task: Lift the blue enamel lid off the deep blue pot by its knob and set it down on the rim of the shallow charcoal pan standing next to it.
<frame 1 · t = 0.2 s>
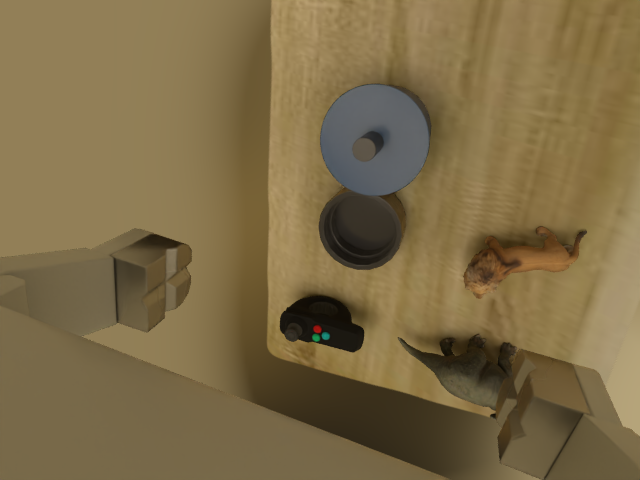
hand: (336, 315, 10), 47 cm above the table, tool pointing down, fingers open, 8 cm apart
controller: (334, 305, 67), on the table
lion figurine: (517, 248, 55), on the table
pan: (366, 219, 60), on the table
toy dinosaur: (476, 350, 63), on the table
lid: (373, 141, 47), point 9 cm above the table, touching pot
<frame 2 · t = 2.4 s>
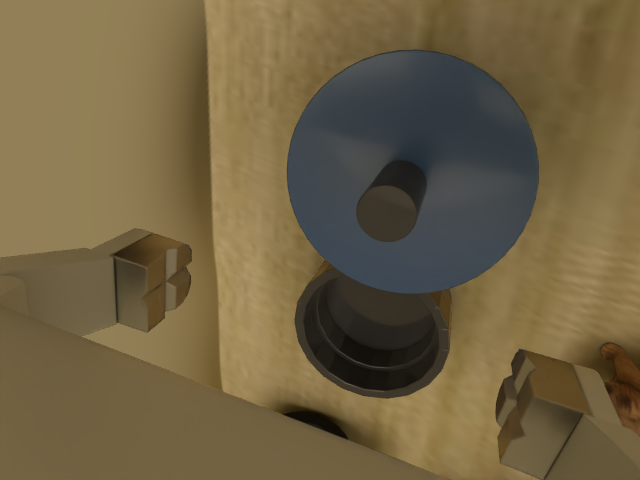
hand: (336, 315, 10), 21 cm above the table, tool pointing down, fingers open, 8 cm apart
controller: (326, 424, 42), on the table
pan: (380, 300, 34), on the table
lid: (403, 181, 21), point 9 cm above the table, touching pot
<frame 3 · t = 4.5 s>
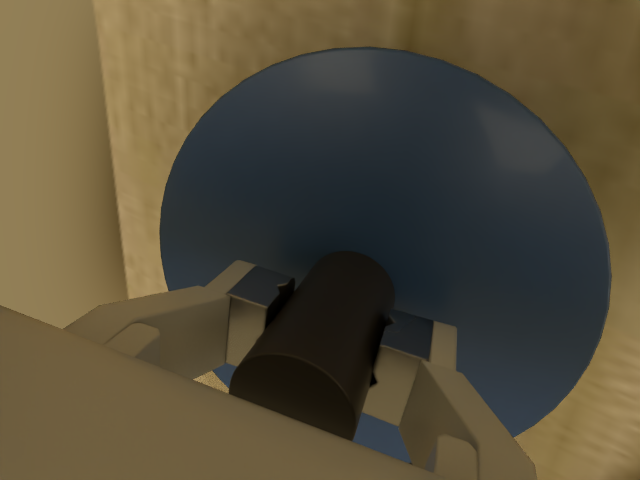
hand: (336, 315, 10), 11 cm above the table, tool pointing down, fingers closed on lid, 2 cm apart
lid: (355, 281, 12), point 9 cm above the table, touching gripper, pot
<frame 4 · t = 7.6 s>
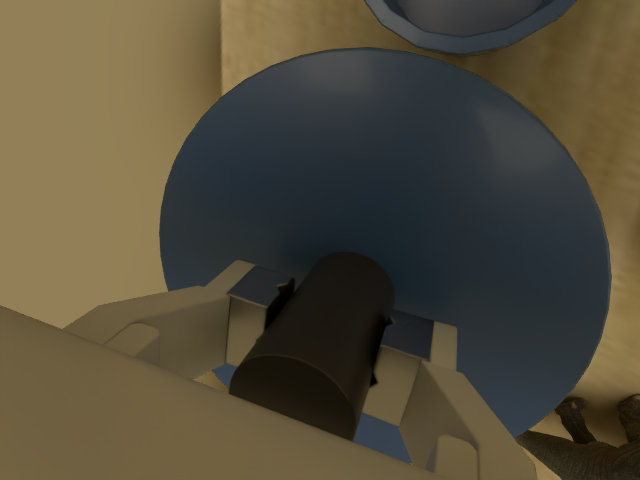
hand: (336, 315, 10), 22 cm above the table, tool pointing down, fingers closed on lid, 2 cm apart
toy dinosaur: (628, 422, 32), on the table
lid: (355, 282, 12), point 20 cm above the table, touching gripper
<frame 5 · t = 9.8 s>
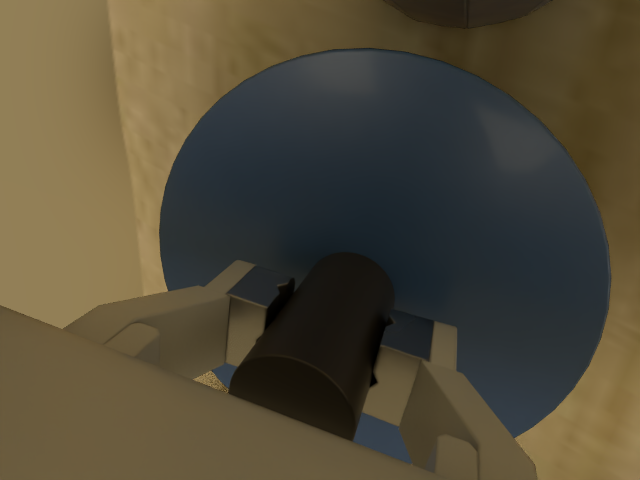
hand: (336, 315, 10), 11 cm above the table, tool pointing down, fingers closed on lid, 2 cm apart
lid: (355, 282, 12), point 9 cm above the table, touching gripper
when the fingers open (7 cm above the table, at t = 11.0 s): lid stays where it is, resting on pan.
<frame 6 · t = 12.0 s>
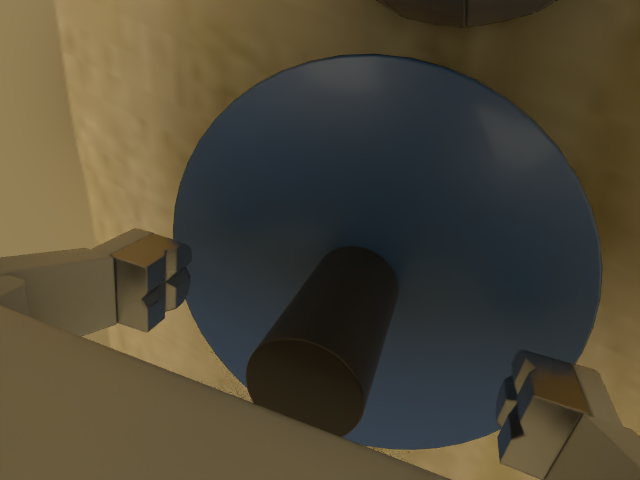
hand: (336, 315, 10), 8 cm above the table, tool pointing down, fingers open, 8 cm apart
lid: (360, 275, 13), point 5 cm above the table, touching pan
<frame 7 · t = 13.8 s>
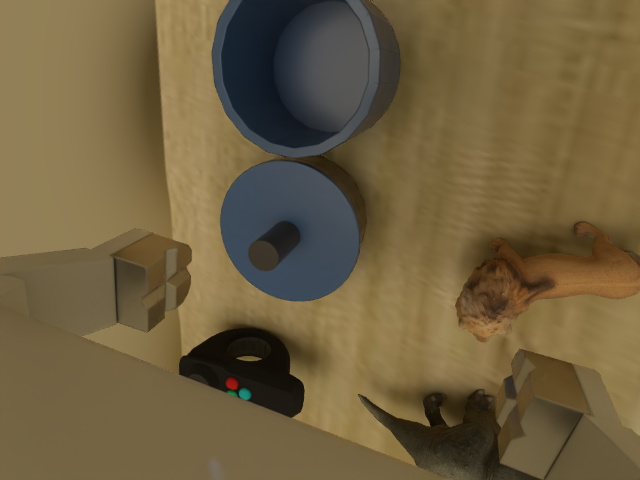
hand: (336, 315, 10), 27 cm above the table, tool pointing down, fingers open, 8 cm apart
controller: (270, 341, 46), on the table
pot: (331, 69, 34), on the table
lion figurine: (542, 257, 35), on the table
pan: (308, 213, 39), on the table
toy dinosaur: (478, 412, 41), on the table
lid: (289, 232, 35), point 5 cm above the table, touching pan
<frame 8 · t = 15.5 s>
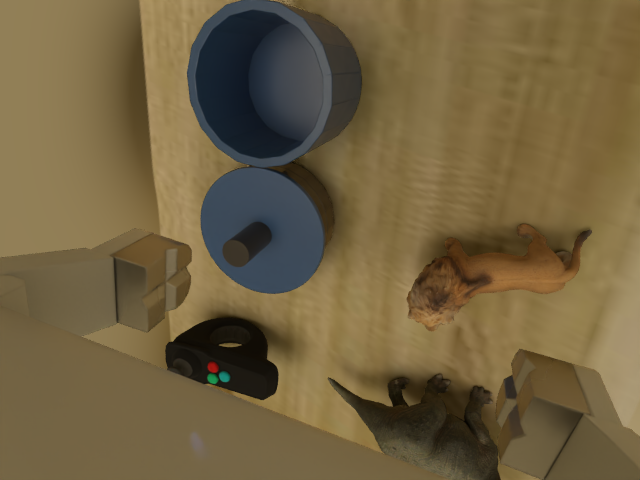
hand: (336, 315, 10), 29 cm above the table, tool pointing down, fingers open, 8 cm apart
controller: (251, 329, 50), on the table
pot: (300, 83, 38), on the table
lion figurine: (491, 255, 38), on the table
pan: (282, 213, 43), on the table
toy dinosaur: (437, 394, 45), on the table
lid: (262, 231, 39), point 5 cm above the table, touching pan
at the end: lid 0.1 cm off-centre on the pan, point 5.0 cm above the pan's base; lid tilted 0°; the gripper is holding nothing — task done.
